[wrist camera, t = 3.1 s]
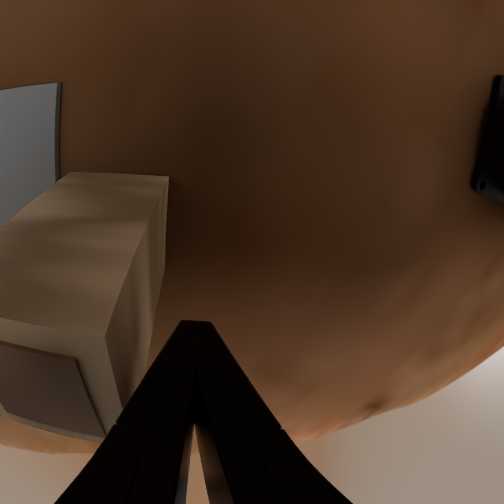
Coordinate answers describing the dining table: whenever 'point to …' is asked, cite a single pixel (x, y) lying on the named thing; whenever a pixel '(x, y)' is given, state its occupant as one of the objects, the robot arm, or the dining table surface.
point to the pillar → (80, 300)
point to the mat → (28, 145)
